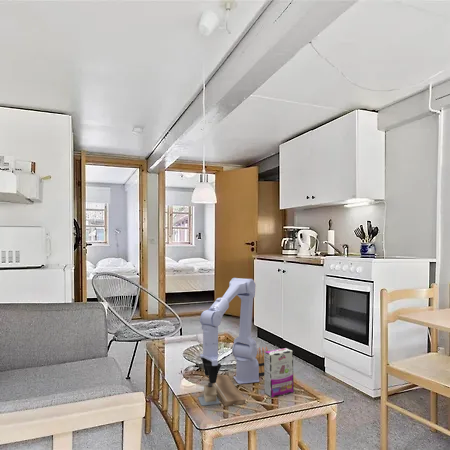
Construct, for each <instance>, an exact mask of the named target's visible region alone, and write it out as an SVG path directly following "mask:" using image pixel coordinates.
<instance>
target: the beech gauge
mask: <svg viewBox="0 0 450 450" xmlns="http://www.w3.org/2000/svg"><path fill="white" fill-rule="evenodd" d="M203 389H204V390H203V397H204V400H205V402H212V401H216V397H217V393H216V386H215V384H213V385H212V383H210V382H208V383H207V384H205V385H203Z"/></svg>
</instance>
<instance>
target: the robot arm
mask: <svg viewBox="0 0 450 450" xmlns="http://www.w3.org/2000/svg"><path fill="white" fill-rule="evenodd" d="M228 286H229V287H228V288H227V290H226V291H225V293H224V294H223V295H222V296H221V297H217V298H216V299H215V301H214V302H213V303H212V305H210V307H209V308H208V309H205V310H204V311H202V312H201V314H200V318H199V322H200V325H201V330H202V353H200V354H199V358H200V359H201V362H202V366H203V370H204V375H205V377H208V382H209V381H210V382H209V383H216V380H217V376H219V371H220V370H221V368H222V364H221V363H219V360H218V359H219V356H220V355H219V326H220V325H221V322H222V319H223V316H224V314H226V311H228V309H229V308H230V303H231V301H232V300H233V299H234V298H235V297H236V296H237V297H238V298H239V299H240V312H239V313H240V315H239V330H238V331H239V332H238V336H237V337H235V338H234V340H233V345H232V348H231V353H232V356H234V359H235V361H236V362H235V373H236V374H235V376H234V375H233V377H232V378H233V379H234V380H235V382H236V383H237V384H238V385H242V384H252V383H254V384H255V383H259V382H260V376H259V364H258V361H257V359H256V355H257V351H258V348H257V341H256V340H255V339H254V338H253V337H252V322H253V305H254V304H253V303H254V298H255V297H256V287H257V286H256V282H255V280H254V279H253V278H241V277H240V278H238V277H233V278H231V280H230V281H229V285H228Z"/></svg>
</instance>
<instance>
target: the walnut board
mask: <svg viewBox="0 0 450 450" xmlns="http://www.w3.org/2000/svg"><path fill="white" fill-rule="evenodd" d="M208 383H210V381H209V380H208ZM213 384H215V386H216V396H218V399H220V400H219V401H220V402H221V403H222V404H223V406H224V407H230V406H234V405H233V404H236V405H235V406H238V405H239V404H241V405H246V404H247V402H246V398H245V397H244V396H243V394H242V393H241V391H240V390H239V389H238V388H237V387H236V385H235V384H234V382H233V381H232V380H231V378H230V377H229V376H228V375H227V374H222V375H221V374H220V375H219V374H218V375H217V380H216V383H212V385H213Z"/></svg>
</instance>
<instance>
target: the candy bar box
mask: <svg viewBox="0 0 450 450" xmlns="http://www.w3.org/2000/svg"><path fill="white" fill-rule="evenodd" d="M263 376H264V394H265V395H267V396H269V397H270V398H275V397H276V398H277V397H279V396H283V395H286V394H291V393H294V392H295V390H294V388H295V387H294V386H295V385H294V351H293V350H292V349H290V348H287V347H285V348H279V349H273V350H268V351H265V352H264V375H263Z"/></svg>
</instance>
